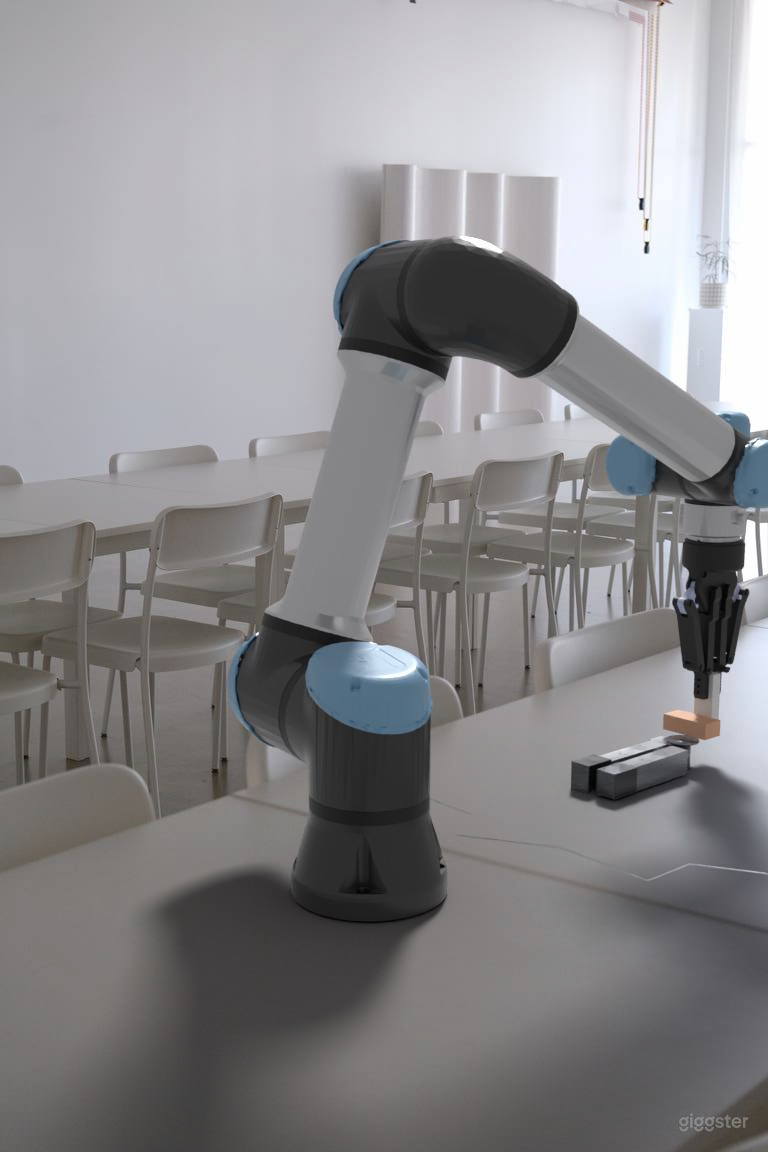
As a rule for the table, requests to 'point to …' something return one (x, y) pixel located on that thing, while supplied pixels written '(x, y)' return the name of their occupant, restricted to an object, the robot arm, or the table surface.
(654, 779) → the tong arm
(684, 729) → the tab
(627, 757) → the tong fixed
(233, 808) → the table surface
